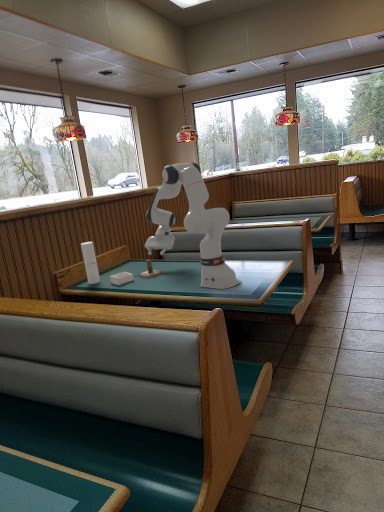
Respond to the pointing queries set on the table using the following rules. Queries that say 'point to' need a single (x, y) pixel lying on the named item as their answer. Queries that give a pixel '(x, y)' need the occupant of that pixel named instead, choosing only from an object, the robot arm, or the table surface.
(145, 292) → the table surface
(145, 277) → the mat
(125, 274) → the white hollow square box
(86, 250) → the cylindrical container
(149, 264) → the lid
